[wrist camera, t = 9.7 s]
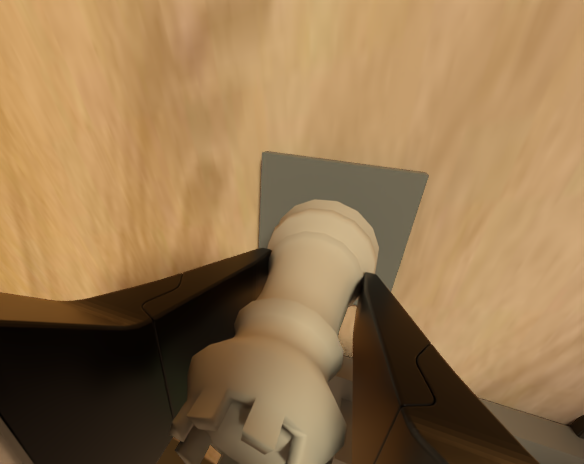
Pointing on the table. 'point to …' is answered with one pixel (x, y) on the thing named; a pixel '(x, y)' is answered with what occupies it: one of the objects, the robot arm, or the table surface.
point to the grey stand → (524, 427)
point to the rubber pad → (345, 199)
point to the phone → (578, 427)
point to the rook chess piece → (282, 349)
